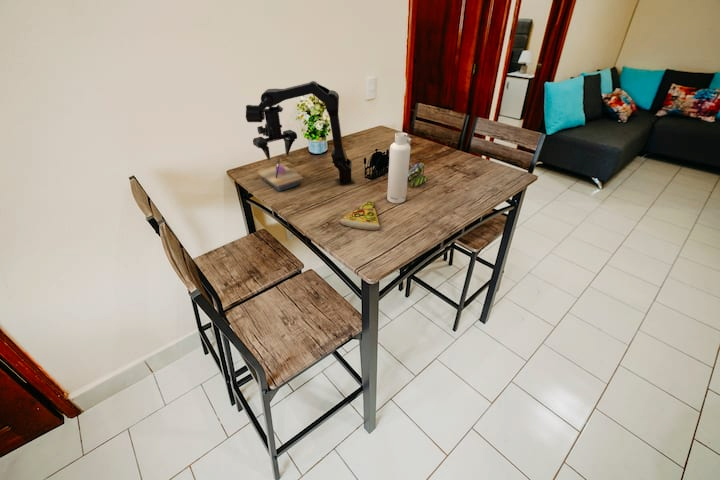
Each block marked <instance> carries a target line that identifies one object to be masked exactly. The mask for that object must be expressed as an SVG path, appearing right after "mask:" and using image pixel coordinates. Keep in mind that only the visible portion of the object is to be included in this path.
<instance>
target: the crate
mask: <svg viewBox="0 0 720 480" xmlns="http://www.w3.org/2000/svg"><path fill="white" fill-rule="evenodd" d="M262 180H264V181H265V182H266V183H267V184H269V185H270V186H271V187H273V188H274V189H276V190H277V191H278V192H282V191H285V190H288V189H291V188H294V187H297V186H299V185H300V183H299V182H300V181H297V182H294V183H291V184H288V185H285V186H282V187H279V188H278V187H276V186H275V185H273V184H272V183H271V182H269V181H268V180H266V179H265V178H264V177H262Z"/></svg>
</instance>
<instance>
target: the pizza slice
mask: <svg viewBox="0 0 720 480" xmlns="http://www.w3.org/2000/svg"><path fill="white" fill-rule="evenodd" d="M340 224H341V225H343V226H345V227H349V228H354V229H358V230H359V229H360V230H367V231H378V230H380V229H381V225H380V223H379V218H378V215H377V211H376V209H375V204H374V202H373V200H369V201H366V202H365V203H364V204H362V205H361V206H360V207H358V208H357V209H356V210H354V211H352V212H350V213H347V214H346V215H345V216H344V217H343V218H341V219H340Z"/></svg>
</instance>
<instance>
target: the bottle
mask: <svg viewBox="0 0 720 480" xmlns="http://www.w3.org/2000/svg"><path fill="white" fill-rule="evenodd" d="M407 137H408V133H406V132H400V131H399V132H396V133H395V134H394V142H392V143H391V144H390V146H389V159H388V177H387V191H386V192H387V193H386V199H387V201H388V202H389V203H393V204H401V203H404V202H405V201H406V199H407V189H408V181H409V180H408V170H410V167H409V164H410V158H411V148H412V147H411V144H410V145H409V144H408V143H407Z"/></svg>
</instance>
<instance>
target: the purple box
mask: <svg viewBox="0 0 720 480" xmlns="http://www.w3.org/2000/svg"><path fill="white" fill-rule="evenodd" d="M280 160H281V159H280V156H278V159H277V162H276V165H277V167H276V178H277V174H278V172H279V173H284V172H285V168H283V167H282V166H279V165H280V164H281V163H280ZM285 173H286V172H285Z"/></svg>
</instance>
